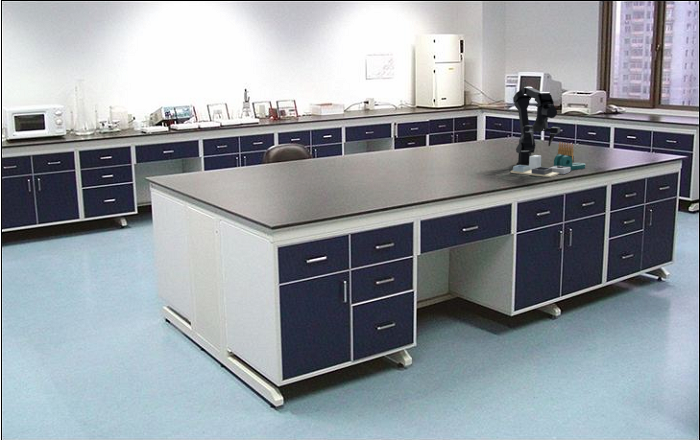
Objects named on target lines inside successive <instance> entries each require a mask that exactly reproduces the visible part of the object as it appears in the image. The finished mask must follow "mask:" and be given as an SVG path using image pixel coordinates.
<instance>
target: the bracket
mask: <svg viewBox="0 0 700 440" xmlns="http://www.w3.org/2000/svg"><path fill="white" fill-rule="evenodd" d="M554 166H564V167H571V171H573V170H582V169H583V170H584V169H586V163H584V162H574V163H573V160H572V158H571V157H570V156H566V155H565V156H564V155H560V154H559V155H557V154H556V156H554V159H553V167H554Z"/></svg>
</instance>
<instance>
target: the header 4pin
mask: <svg viewBox="0 0 700 440" xmlns="http://www.w3.org/2000/svg"><path fill="white" fill-rule="evenodd" d="M551 172H552V168H551V167H546V166H541V167H537V168H534V169H532V173H533V174H542V175H545V174H548V173H551Z"/></svg>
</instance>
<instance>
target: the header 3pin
mask: <svg viewBox="0 0 700 440" xmlns="http://www.w3.org/2000/svg"><path fill="white" fill-rule="evenodd" d="M528 170H531V169H530V166H529V165H526V164H517V165H514V166H513V167H512V171H519V172H525V171H528Z"/></svg>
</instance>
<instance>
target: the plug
mask: <svg viewBox="0 0 700 440" xmlns="http://www.w3.org/2000/svg"><path fill="white" fill-rule="evenodd" d="M528 166H530V170H532V169H534V168H537V167H542V155H540V154H539V155H538V154H534V155H532V156H530V157H529V164H528Z"/></svg>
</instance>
